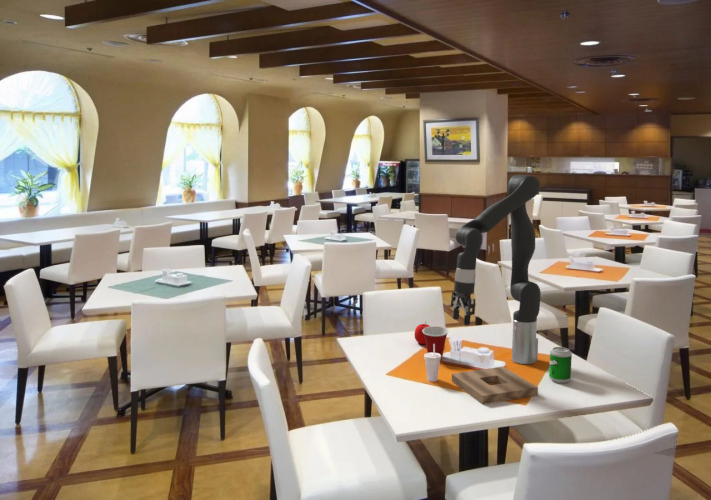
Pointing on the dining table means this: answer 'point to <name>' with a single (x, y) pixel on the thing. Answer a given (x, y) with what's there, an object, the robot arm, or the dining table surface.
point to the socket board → (504, 390)
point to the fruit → (420, 333)
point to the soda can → (560, 365)
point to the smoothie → (432, 365)
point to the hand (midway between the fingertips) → (461, 321)
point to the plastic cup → (435, 338)
